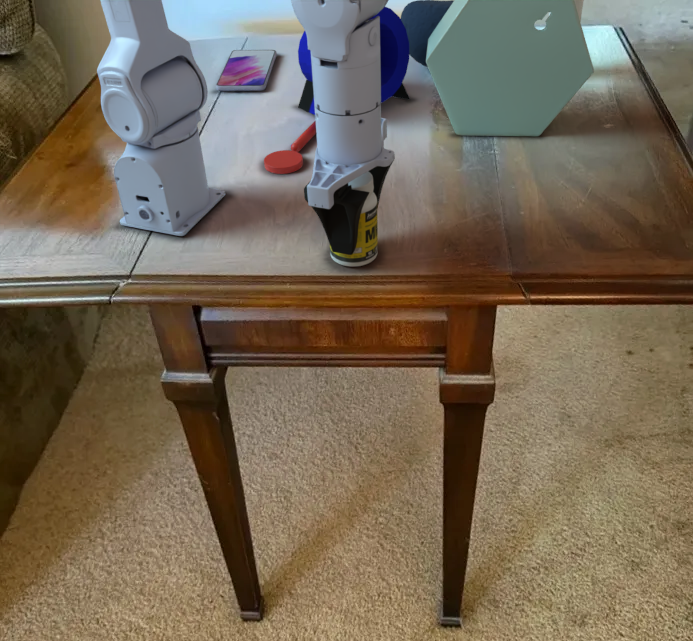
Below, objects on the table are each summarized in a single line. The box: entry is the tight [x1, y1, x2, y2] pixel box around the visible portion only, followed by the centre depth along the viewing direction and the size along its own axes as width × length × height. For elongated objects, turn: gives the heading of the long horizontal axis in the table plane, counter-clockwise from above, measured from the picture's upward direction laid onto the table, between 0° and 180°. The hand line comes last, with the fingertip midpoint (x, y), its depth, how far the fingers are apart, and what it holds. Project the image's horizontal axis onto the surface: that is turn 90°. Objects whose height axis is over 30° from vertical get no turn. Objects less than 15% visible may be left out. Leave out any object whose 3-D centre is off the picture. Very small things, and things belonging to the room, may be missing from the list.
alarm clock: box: [297, 6, 411, 116], centre depth 100 cm, size 12×12×15 cm
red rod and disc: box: [263, 120, 317, 175], centre depth 94 cm, size 13×5×1 cm, turn 158°
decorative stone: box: [400, 0, 454, 68], centre depth 110 cm, size 12×12×10 cm
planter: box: [426, 0, 595, 137], centre depth 92 cm, size 17×8×21 cm
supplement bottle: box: [329, 172, 379, 267], centre depth 72 cm, size 5×5×8 cm
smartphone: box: [215, 49, 278, 92], centre depth 114 cm, size 7×1×15 cm
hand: (353, 237), depth 74 cm, fingers closed on supplement bottle, 5 cm apart
